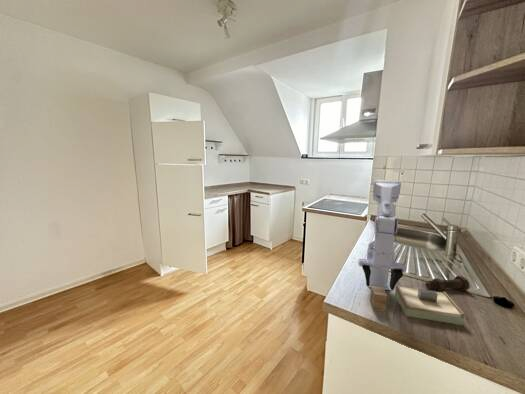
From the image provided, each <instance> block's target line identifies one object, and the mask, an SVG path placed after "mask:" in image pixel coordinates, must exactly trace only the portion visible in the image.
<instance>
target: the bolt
mask: <svg viewBox="0 0 525 394" xmlns="http://www.w3.org/2000/svg"><path fill="white" fill-rule="evenodd" d="M424 283H425V284H424V286H425V288H427V290H431V291H433V290H435V291H436V292H444V291H445V290H446V289H447V290H448V289H459V290H460V291H462V292H466V291H468V290H469V289H470V282H469V280H468V279H467V278H466V277H464V276H462V275H456V276H455V277H454V278H453V279H443V280H442V279H441V278H438V277H434V278H433V279H432V280H427V281H426V282H424Z"/></svg>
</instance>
